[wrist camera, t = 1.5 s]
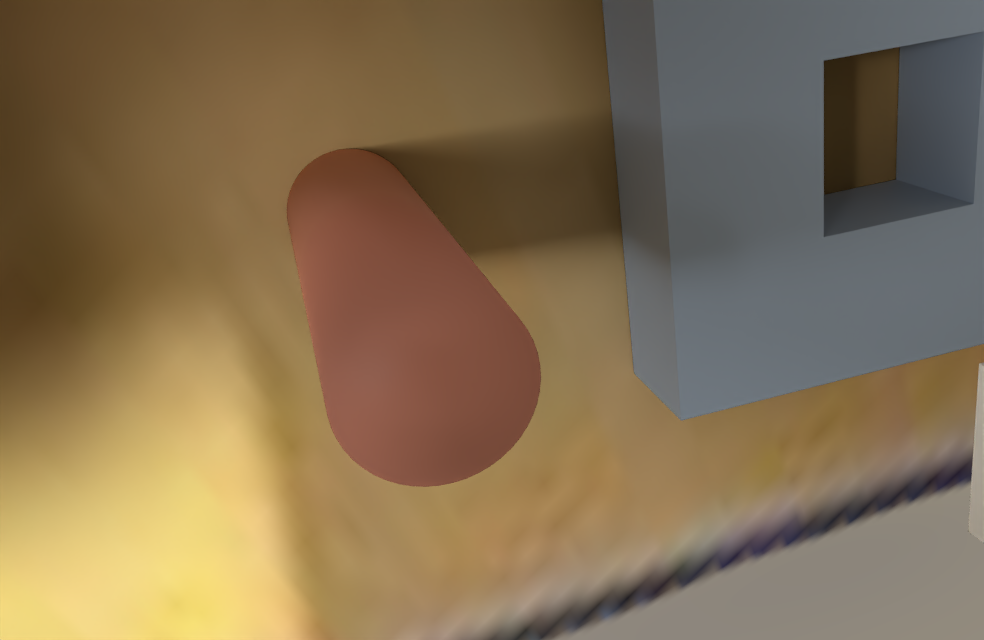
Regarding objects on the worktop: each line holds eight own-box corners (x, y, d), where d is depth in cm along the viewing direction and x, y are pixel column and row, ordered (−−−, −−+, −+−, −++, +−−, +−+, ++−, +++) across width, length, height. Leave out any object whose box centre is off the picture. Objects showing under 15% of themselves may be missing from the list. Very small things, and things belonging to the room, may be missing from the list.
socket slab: (634, 373, 34) (681, 420, 31) (593, -100, 28) (646, -110, 25) (1008, 282, 37) (1091, 316, 34) (1043, -163, 31) (1149, -181, 28)
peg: (301, 283, 30) (348, 509, 17) (274, 161, 29) (303, 312, 16) (422, 258, 31) (551, 457, 18) (401, 138, 29) (527, 264, 17)
